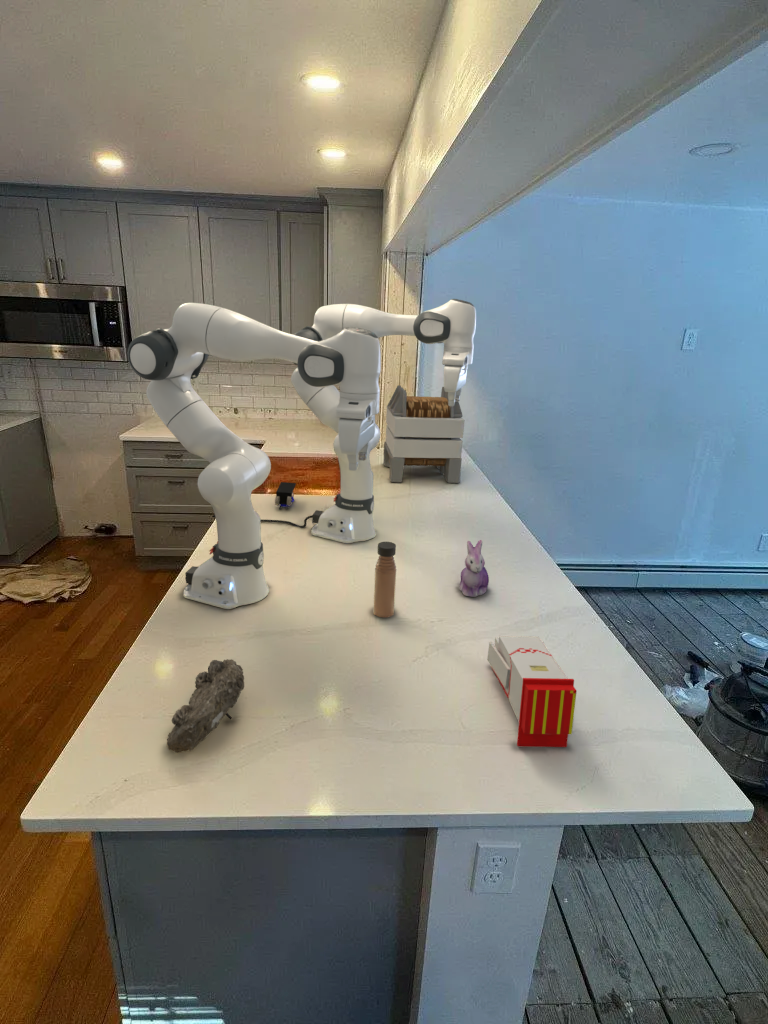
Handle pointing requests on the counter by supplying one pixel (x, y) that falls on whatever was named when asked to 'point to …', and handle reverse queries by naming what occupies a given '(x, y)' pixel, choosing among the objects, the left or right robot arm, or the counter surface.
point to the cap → (386, 549)
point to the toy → (534, 690)
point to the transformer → (423, 434)
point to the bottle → (384, 587)
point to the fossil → (206, 705)
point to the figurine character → (285, 494)
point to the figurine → (474, 572)
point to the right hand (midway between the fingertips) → (454, 403)
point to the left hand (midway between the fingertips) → (358, 464)
